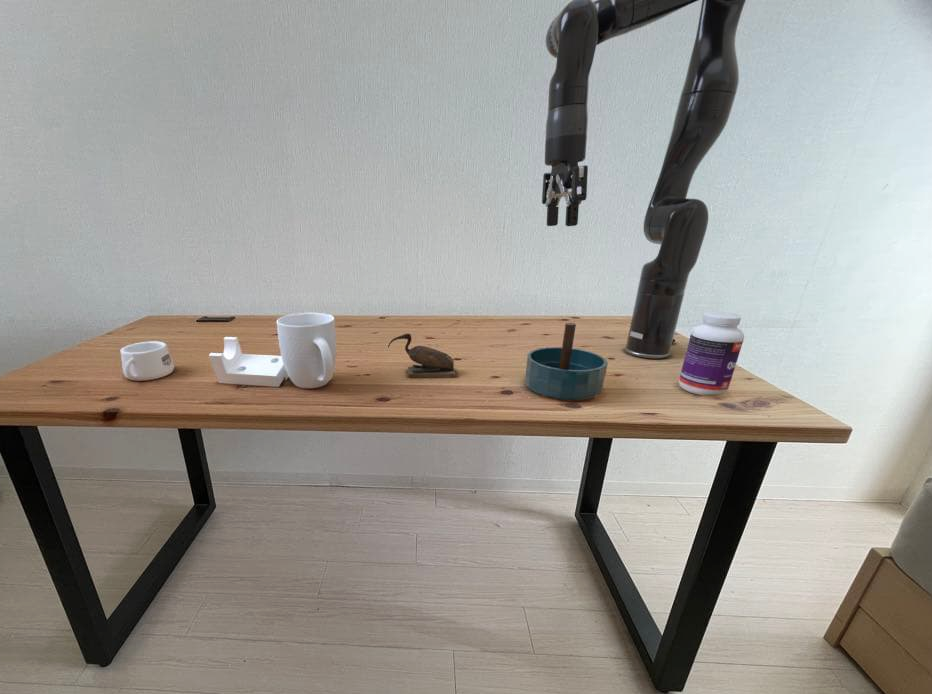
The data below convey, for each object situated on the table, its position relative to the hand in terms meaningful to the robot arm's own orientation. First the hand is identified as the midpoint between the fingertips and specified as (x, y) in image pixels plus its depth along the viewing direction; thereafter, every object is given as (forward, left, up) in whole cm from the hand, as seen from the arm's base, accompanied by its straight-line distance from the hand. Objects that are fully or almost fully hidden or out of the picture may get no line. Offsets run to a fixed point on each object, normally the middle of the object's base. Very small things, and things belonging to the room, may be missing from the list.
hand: (561, 225), depth 94 cm
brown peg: (+17, +8, -28) cm, 34 cm away
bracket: (+44, -47, -29) cm, 71 cm away
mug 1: (+54, -69, -29) cm, 92 cm away
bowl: (+17, +8, -28) cm, 34 cm away
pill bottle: (+5, +31, -29) cm, 42 cm away
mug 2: (+40, -35, -29) cm, 60 cm away
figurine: (+24, -19, -29) cm, 42 cm away
